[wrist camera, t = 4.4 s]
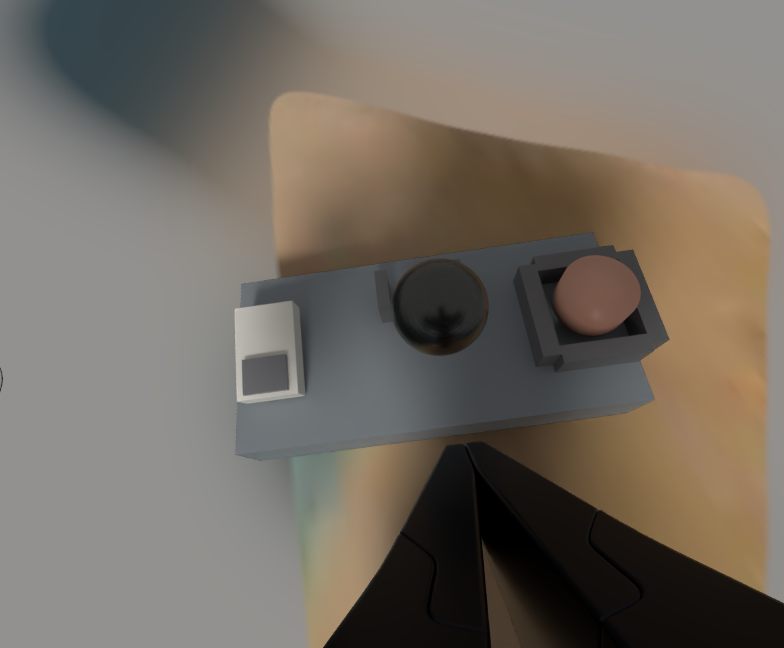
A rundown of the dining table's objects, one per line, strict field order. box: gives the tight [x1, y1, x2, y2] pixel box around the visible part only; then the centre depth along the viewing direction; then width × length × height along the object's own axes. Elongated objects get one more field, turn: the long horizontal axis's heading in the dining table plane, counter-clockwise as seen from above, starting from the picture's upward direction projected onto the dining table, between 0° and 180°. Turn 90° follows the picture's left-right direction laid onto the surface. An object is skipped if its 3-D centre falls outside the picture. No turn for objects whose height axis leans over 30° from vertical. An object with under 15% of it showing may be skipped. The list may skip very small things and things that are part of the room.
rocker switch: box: [235, 301, 305, 404], centre depth 20 cm, size 4×3×2 cm, turn 7°
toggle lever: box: [391, 258, 489, 356], centre depth 15 cm, size 2×2×12 cm
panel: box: [236, 232, 670, 461], centre depth 21 cm, size 9×20×5 cm, turn 97°
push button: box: [552, 255, 641, 336], centre depth 19 cm, size 3×3×2 cm
